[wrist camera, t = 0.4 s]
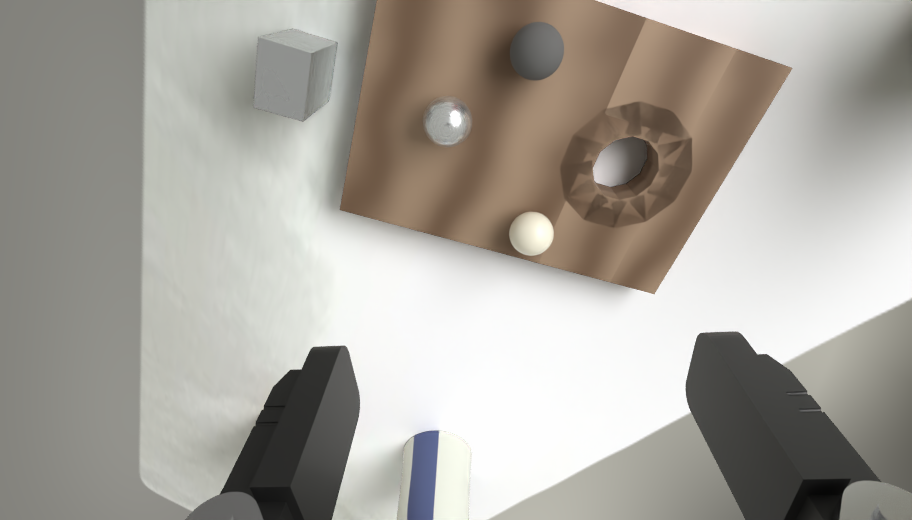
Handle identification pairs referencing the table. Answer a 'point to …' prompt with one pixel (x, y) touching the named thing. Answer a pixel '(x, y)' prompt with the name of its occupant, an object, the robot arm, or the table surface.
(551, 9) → the deck
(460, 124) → the steel ball
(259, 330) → the table surface
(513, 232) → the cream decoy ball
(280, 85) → the grey steel block
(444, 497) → the white and blue vase
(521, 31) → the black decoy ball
